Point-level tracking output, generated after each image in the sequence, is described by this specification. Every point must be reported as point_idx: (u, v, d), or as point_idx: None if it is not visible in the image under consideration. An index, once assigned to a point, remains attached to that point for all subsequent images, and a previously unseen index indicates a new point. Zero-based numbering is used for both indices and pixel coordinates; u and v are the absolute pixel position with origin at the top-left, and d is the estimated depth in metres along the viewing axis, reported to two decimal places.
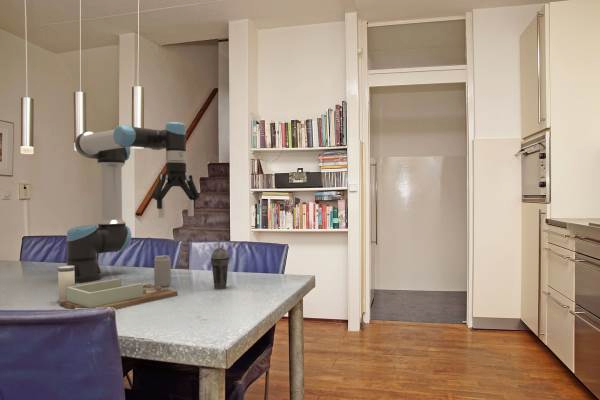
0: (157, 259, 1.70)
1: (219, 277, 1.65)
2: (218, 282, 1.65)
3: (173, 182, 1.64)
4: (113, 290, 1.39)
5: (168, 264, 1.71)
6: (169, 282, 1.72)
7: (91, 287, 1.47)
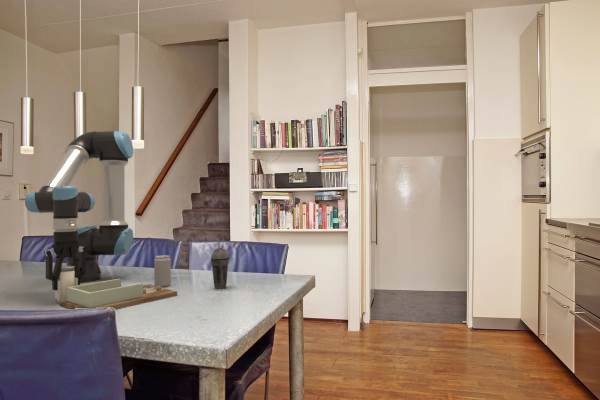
0: (157, 259, 1.70)
1: (219, 277, 1.65)
2: (218, 282, 1.65)
3: (62, 255, 1.45)
4: (113, 290, 1.39)
5: (168, 264, 1.71)
6: (169, 282, 1.72)
7: (91, 287, 1.47)
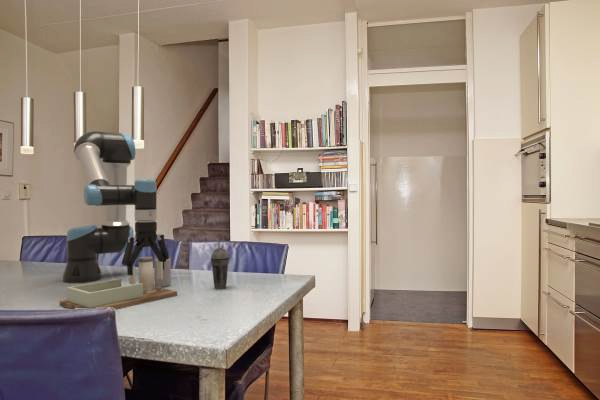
0: (157, 259, 1.70)
1: (219, 277, 1.65)
2: (218, 282, 1.65)
3: (143, 244, 1.54)
4: (113, 290, 1.39)
5: (168, 264, 1.71)
6: (169, 282, 1.72)
7: (91, 287, 1.47)
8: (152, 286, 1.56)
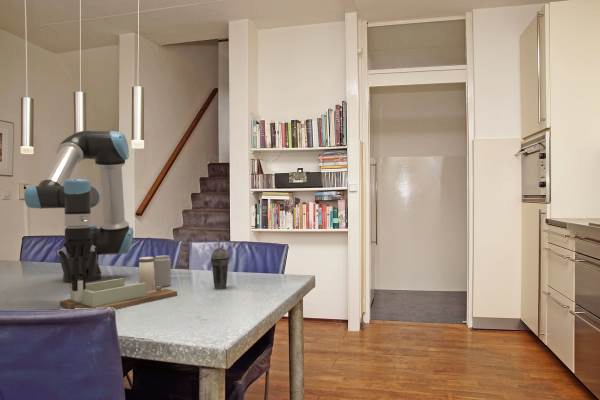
0: (157, 259, 1.70)
1: (219, 277, 1.65)
2: (218, 282, 1.65)
3: (76, 254, 1.35)
4: (116, 289, 1.40)
5: (168, 264, 1.71)
6: (169, 282, 1.72)
7: (94, 286, 1.48)
8: (152, 286, 1.56)
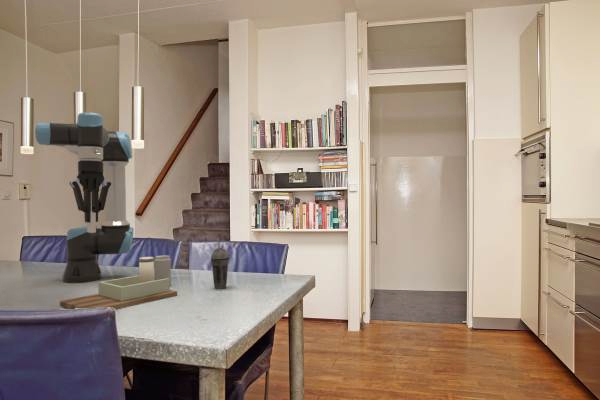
0: (157, 259, 1.70)
1: (219, 277, 1.65)
2: (218, 282, 1.65)
3: (89, 185, 1.38)
4: (143, 284, 1.47)
5: (168, 264, 1.71)
6: (169, 282, 1.72)
7: (120, 282, 1.56)
8: None
